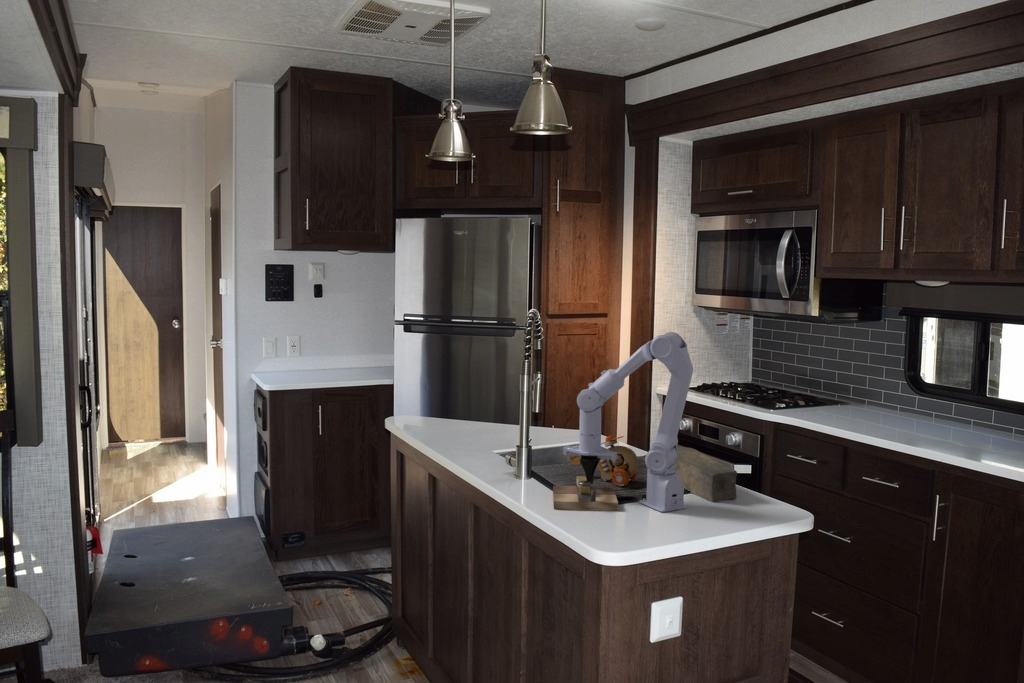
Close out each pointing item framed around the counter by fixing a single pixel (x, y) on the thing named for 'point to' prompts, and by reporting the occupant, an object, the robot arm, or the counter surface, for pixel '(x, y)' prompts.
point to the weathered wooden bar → (705, 475)
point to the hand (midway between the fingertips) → (589, 483)
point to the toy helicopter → (615, 463)
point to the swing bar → (583, 484)
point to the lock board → (584, 498)
